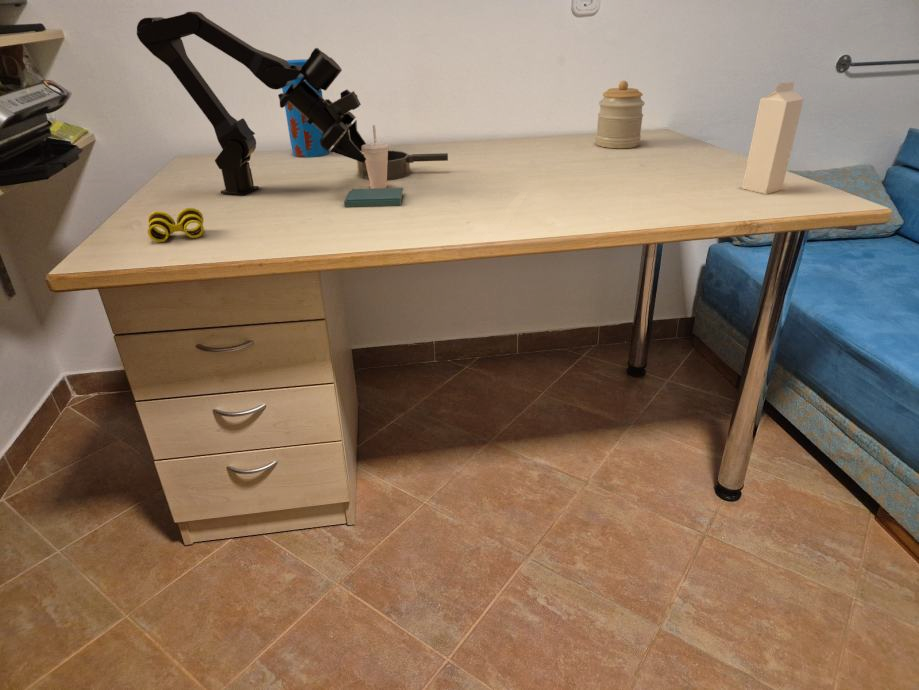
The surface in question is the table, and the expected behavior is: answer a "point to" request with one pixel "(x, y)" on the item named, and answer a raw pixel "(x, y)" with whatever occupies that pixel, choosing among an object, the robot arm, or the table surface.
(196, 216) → the opera glasses
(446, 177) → the table surface
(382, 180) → the smoothie
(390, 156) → the pan
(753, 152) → the milk
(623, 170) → the table surface
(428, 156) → the pan handle
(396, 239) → the table surface
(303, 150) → the thermos
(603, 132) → the jar
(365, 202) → the teal flat block
